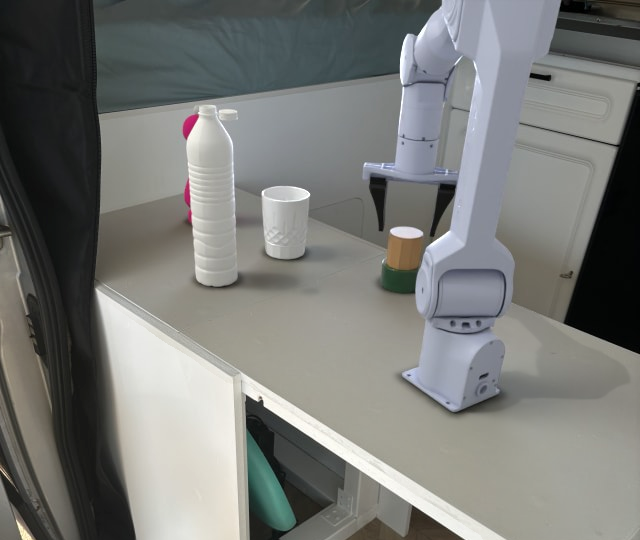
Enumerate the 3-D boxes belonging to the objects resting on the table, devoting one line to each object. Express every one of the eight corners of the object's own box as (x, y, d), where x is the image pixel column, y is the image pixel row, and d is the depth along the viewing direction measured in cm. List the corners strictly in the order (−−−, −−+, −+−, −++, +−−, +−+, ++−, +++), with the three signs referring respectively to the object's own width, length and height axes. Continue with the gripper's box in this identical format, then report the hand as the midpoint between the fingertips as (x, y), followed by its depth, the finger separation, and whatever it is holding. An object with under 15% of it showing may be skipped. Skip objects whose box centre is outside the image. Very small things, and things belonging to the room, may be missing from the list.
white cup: (302, 263, 109) (303, 203, 103) (256, 258, 110) (255, 198, 104) (312, 246, 115) (314, 188, 109) (268, 241, 116) (268, 183, 110)
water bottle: (187, 277, 103) (173, 103, 88) (219, 266, 107) (211, 98, 92) (223, 296, 98) (214, 116, 83) (255, 284, 102) (252, 109, 87)
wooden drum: (425, 265, 102) (430, 234, 99) (400, 272, 99) (404, 240, 96) (404, 254, 105) (408, 224, 102) (379, 261, 103) (382, 230, 100)
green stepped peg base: (428, 287, 104) (434, 248, 100) (397, 296, 101) (402, 256, 97) (402, 273, 108) (407, 234, 104) (372, 281, 105) (375, 241, 101)
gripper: (471, 134, 93) (455, 227, 101) (370, 125, 95) (362, 218, 103) (471, 146, 88) (454, 244, 96) (364, 136, 89) (356, 233, 97)
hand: (406, 231), depth 99 cm, fingers open, 7 cm apart
